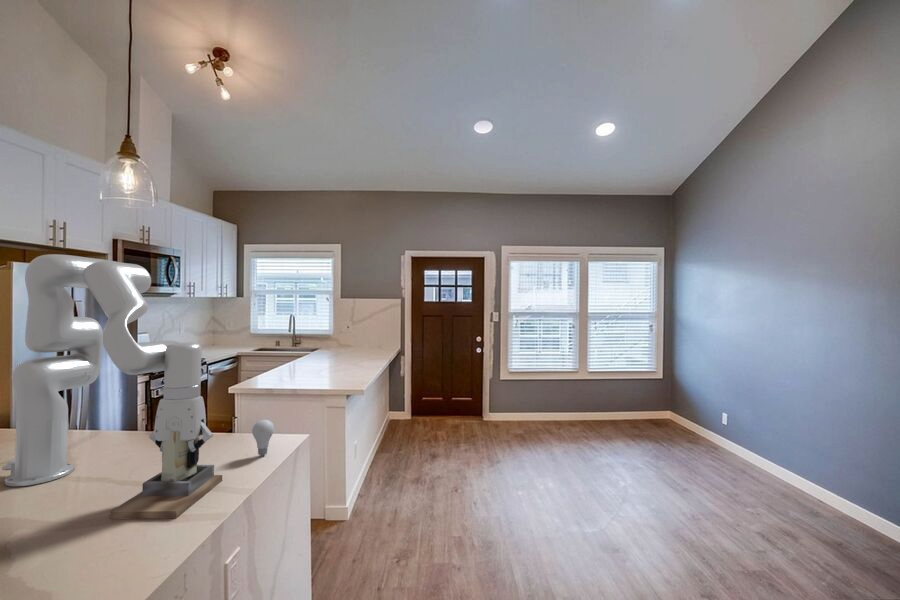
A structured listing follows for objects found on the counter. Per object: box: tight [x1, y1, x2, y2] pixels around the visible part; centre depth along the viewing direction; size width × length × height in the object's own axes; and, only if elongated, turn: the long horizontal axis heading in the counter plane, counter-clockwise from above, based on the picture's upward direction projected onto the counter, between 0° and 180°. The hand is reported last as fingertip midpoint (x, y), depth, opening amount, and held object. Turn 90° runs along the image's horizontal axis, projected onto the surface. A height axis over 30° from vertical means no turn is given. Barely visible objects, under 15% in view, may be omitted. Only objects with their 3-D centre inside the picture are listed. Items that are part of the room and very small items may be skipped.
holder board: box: [109, 464, 223, 520], centre depth 92 cm, size 14×18×4 cm
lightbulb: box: [251, 419, 275, 457], centre depth 118 cm, size 6×6×11 cm
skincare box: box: [161, 431, 198, 481], centre depth 95 cm, size 6×4×12 cm
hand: (180, 465), depth 95 cm, fingers closed on skincare box, 5 cm apart
